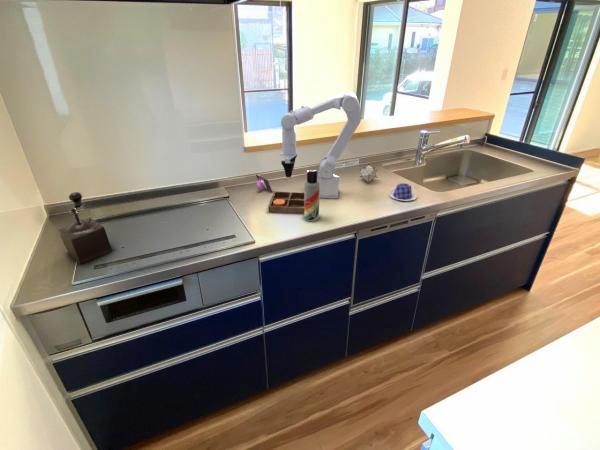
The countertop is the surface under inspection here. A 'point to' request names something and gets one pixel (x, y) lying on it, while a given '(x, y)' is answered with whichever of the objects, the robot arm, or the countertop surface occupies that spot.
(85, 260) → the brown coffee grinder
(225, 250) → the countertop surface
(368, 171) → the grey spiky ball
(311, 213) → the lotion bottle
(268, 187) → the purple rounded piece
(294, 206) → the grid
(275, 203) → the token
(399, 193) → the pudding
